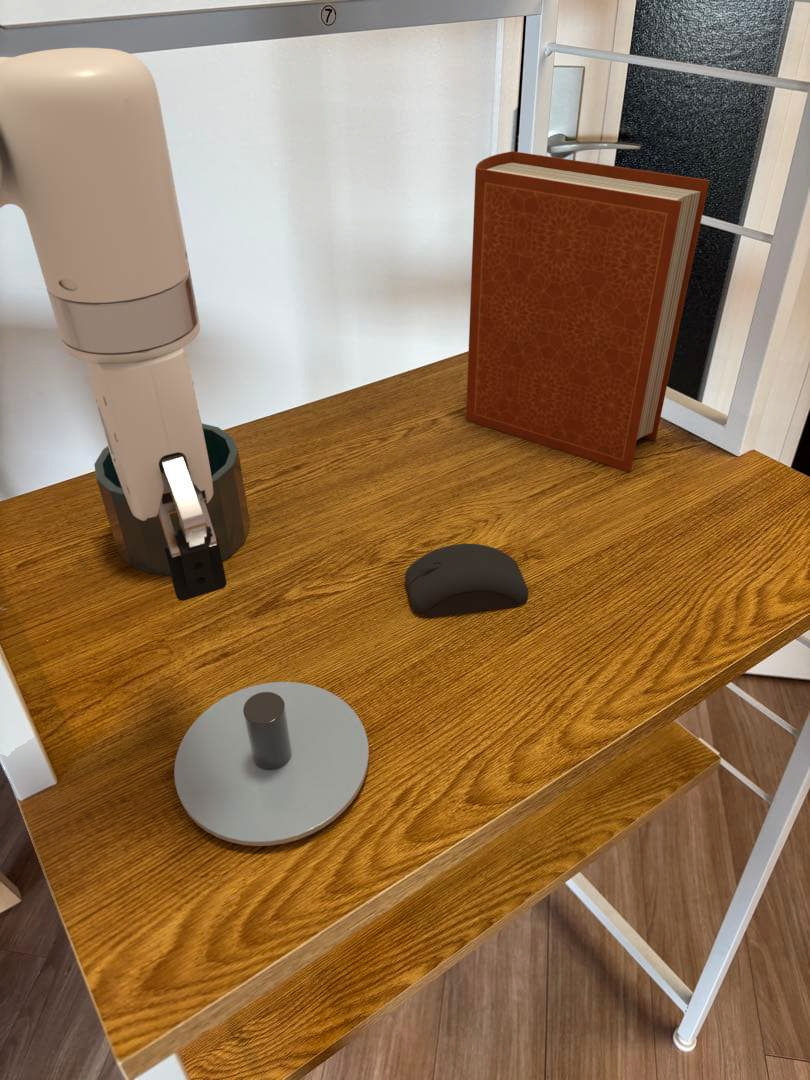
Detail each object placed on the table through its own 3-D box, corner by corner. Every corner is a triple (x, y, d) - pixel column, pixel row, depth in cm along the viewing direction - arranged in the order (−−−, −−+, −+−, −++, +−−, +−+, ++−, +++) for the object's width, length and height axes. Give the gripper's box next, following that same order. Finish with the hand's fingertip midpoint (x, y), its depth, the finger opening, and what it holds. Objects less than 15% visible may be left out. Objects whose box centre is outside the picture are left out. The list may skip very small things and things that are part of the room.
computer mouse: (402, 575, 82) (402, 544, 79) (513, 562, 83) (516, 530, 80) (413, 619, 77) (413, 587, 74) (531, 604, 78) (535, 572, 76)
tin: (124, 589, 80) (100, 510, 75) (111, 511, 90) (90, 436, 85) (261, 556, 84) (249, 479, 78) (235, 485, 94) (222, 411, 88)
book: (655, 440, 100) (709, 180, 82) (630, 472, 95) (681, 201, 76) (490, 391, 111) (504, 149, 92) (458, 417, 105) (466, 167, 87)
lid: (194, 880, 57) (176, 824, 53) (164, 720, 68) (147, 664, 64) (396, 812, 61) (394, 755, 57) (337, 671, 72) (332, 615, 68)
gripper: (37, 270, 51) (105, 497, 61) (81, 391, 38) (156, 649, 49) (160, 250, 53) (204, 471, 64) (238, 358, 41) (276, 610, 52)
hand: (183, 548), depth 56 cm, fingers open, 9 cm apart
